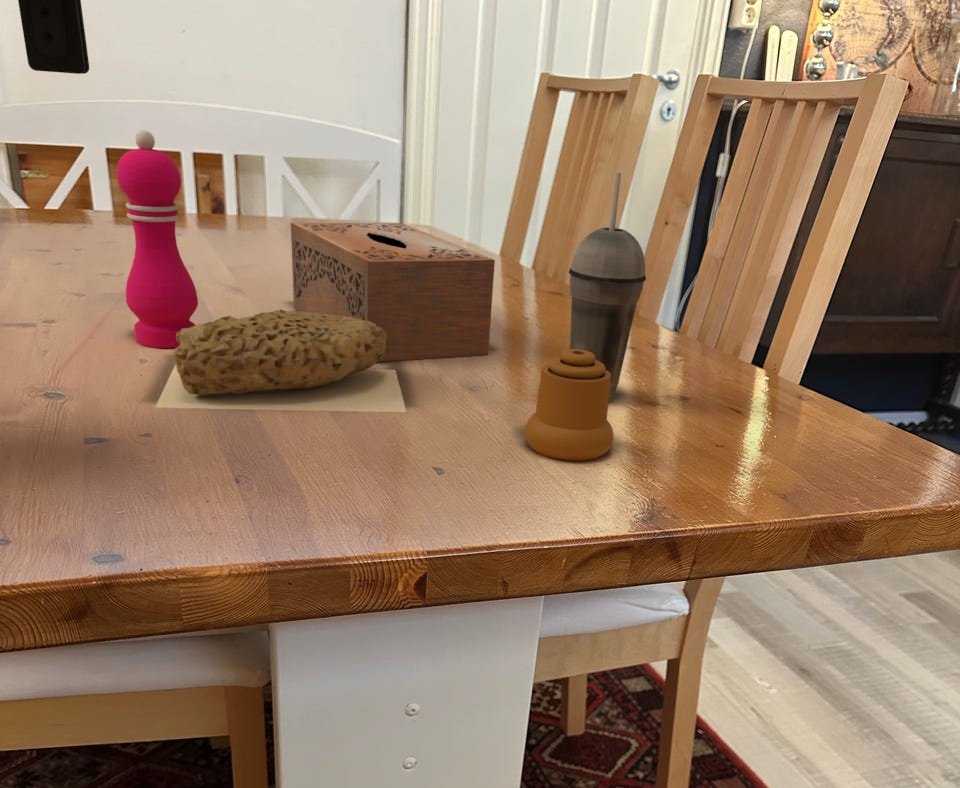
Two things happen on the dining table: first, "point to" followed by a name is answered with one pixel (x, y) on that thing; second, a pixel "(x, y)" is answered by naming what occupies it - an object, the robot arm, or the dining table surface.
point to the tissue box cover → (396, 286)
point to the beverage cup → (606, 293)
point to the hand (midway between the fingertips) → (60, 71)
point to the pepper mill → (155, 246)
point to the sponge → (275, 352)
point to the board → (299, 396)
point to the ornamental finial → (572, 408)
